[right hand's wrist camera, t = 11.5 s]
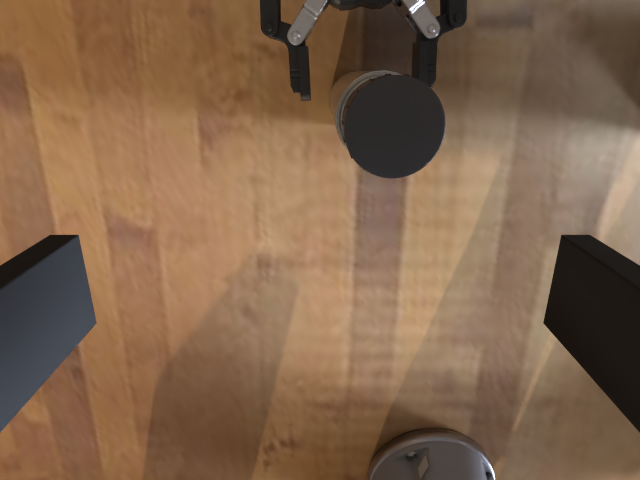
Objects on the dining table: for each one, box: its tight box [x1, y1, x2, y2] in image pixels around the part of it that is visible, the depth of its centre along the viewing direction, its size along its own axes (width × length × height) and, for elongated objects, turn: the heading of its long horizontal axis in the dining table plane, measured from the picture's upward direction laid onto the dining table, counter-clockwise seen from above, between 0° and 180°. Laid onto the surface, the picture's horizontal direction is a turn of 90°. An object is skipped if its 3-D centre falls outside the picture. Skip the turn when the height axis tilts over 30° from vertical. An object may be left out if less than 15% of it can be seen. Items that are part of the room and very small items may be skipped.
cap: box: [341, 73, 445, 178], centre depth 20 cm, size 4×4×2 cm
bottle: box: [329, 70, 401, 149], centre depth 30 cm, size 5×5×22 cm
